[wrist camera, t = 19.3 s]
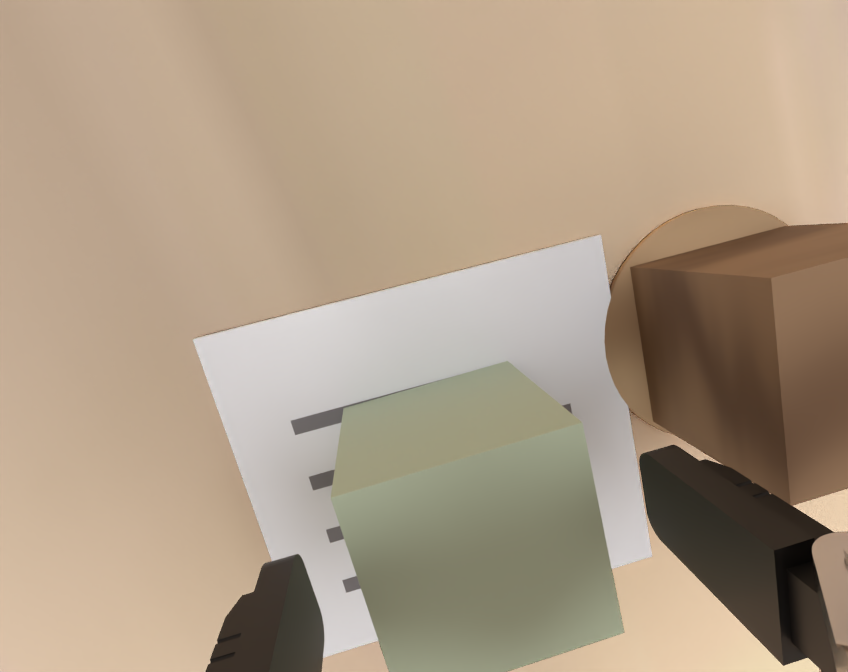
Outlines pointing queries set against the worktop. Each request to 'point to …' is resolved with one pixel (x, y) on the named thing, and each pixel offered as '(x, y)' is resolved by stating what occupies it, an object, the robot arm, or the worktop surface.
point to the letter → (405, 369)
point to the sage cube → (474, 524)
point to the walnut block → (754, 354)
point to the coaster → (660, 243)
